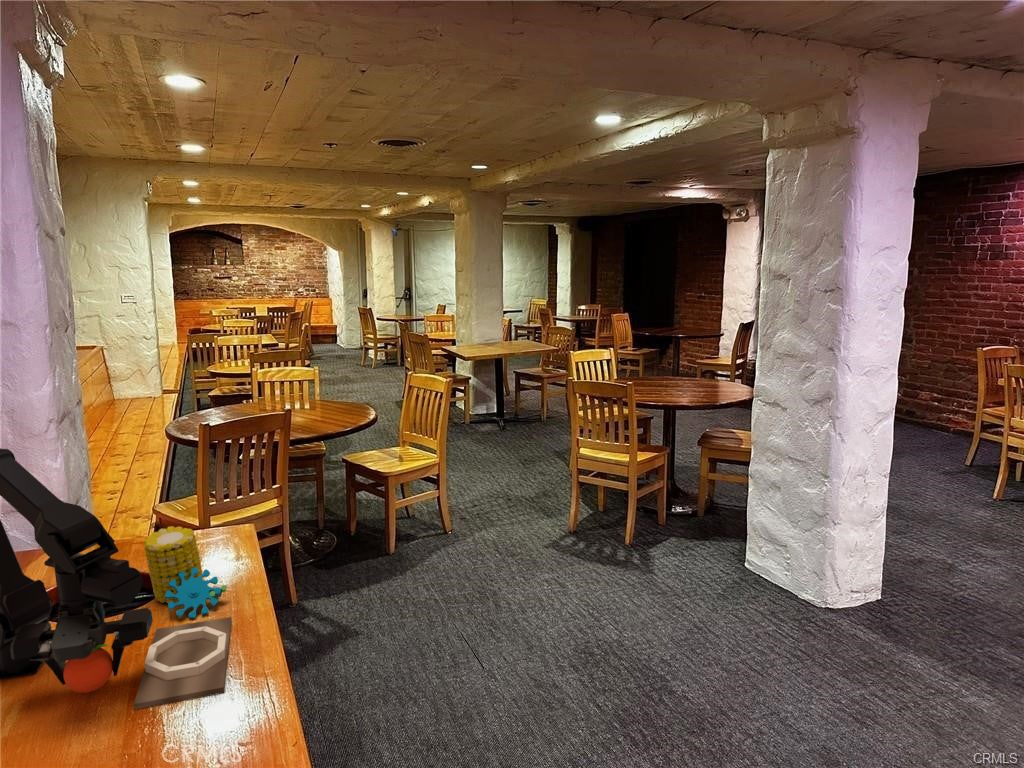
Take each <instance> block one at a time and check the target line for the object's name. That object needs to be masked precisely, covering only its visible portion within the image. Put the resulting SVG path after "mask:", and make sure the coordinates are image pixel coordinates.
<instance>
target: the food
mask: <svg viewBox="0 0 1024 768" xmlns="http://www.w3.org/2000/svg"><path fill="white" fill-rule="evenodd" d="M143 548H144V551H145V557H146V564H148V565H147V567H148V569H147V570H148V571H149V572H148V573H149V574H148V575H149V577H150V581H151V585H152V589H153V590H152V591H153V595H154V598H155V600H156V601H157V602H159V603H161V604H162V603H166V604H168V603H169V602H174V603H178V602H179V600H178V599H176V598H168V599H167V598H165V594H166V592H167V591H171V592H172V594H174V595H176V594H177V593H178V592H177V590H176V589H175V588H173V587H170V586H169V582H170V581H171V580H173V579H174V580H176V585H177V586H181V585H182V581H181V579H180V578H179V576H178V575H179V573H180V572H183V571H185V572H186V576H185V577H184V580H188V579H189V578H190V576H191V569H192V568H197V569H198V573H197V574H196V575H194V576H193V577H194V578H198V577H200V576H201V575H202V574H203V570H202V565H201V563H202V562H201V561H202V560H201V559H200V558H201V557H200V555H199V554H200V551H199V548H198V544H197V538H196V535H195V531H194V530H193V529H192V528H187V527H184V528H183V526H176V527H175V526H172V525H171V526H167V528H160V529H159V530H158V531H154V532H151V534H150V535H147V536H146V539H145V540H144V546H143ZM202 580H204V581H205V579H204V577H203V578H202Z"/></svg>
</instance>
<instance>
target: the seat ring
mask: <svg viewBox="0 0 1024 768" xmlns="http://www.w3.org/2000/svg"><path fill="white" fill-rule="evenodd" d="M201 638H204V639H207V640H210V641H212V642H215V643H218V646H217V650H215V651H214V652H212V653H210V654H209V655H207V656H206V657H204V658H203V659H201V660H200V661H198V662H195V663H190V664H184V665H178V666H173V667H168V666H166V665H164V664H161V663H159V662H156V659H157V656H158V654H160V653H161V652H163V651H165V650H166V649H168V648H170V647H171V646H173V645H175V644H176V643H178V642H183V641H189V640H195V639H201ZM226 645H227V637H226V633H223V632H221V631H218V630H215V629H212V628H210V627H207V626H205V627H199V628H193V629H186V630H180V631H176V632H173V633H172V634H170V635H168V636H166V637H165V638H163V639H161V640H159V641H158V642H156V643H154V644H153V645H152V644H151V645H150V646H149V647H148V651H147V655H146V657H145V660H144V669H145V671H146V672H147V673H150V674H152V675H155V676H157V677H159V678H162V679H164V680H171V679H177V678H183V677H188V676H194V675H199V674H201V673H203V672H204V671H206V670H207V669H209V668H210V667H212V666H213V665H215V664H216V663H218V662H219V661H221V660H222V659H224V658H225V653H226Z"/></svg>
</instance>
